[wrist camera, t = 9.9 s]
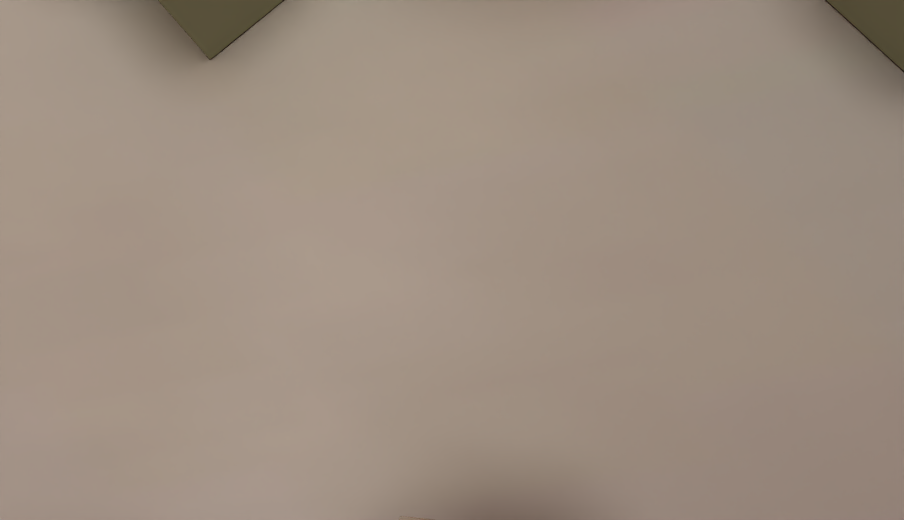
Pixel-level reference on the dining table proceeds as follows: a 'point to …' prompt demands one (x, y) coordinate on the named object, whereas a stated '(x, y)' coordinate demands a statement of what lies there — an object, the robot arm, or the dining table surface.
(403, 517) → the robot arm
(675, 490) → the dining table surface
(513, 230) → the dining table surface
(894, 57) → the olive stepped piece
